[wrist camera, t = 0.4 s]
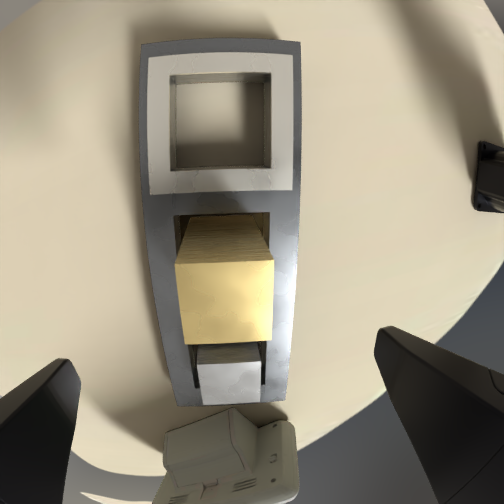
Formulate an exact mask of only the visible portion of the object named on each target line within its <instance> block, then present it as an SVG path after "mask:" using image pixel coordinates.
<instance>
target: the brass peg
mask: <svg viewBox="0 0 504 504" xmlns="http://www.w3.org/2000/svg"><path fill="white" fill-rule="evenodd" d="M175 273H176V282H177V291H178V299H179V306H180V314H181V321H182V328H183V335H184V341H185V344H216V343H236V342H252V341H266V340H271V337H272V313H273V285H274V259H273V257H272V255H271V253H270V251H269V248H268V246H267V244H266V242H265V240H264V238H263V236H262V234H261V232H260V230H259V228H258V226H257V224H256V222H255V220H254V218H253V216H252V215H233V216H205V217H191V218H190V221H189V223H188V226H187V229H186V232H185V235H184V238H183V241H182V244H181V246H180V249H179V252H178V255H177V258H176V261H175Z"/></svg>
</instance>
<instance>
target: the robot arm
mask: <svg viewBox="0 0 504 504" xmlns="http://www.w3.org/2000/svg"><path fill="white" fill-rule="evenodd" d="M474 209H475V210H477V211H484V212H496V213H504V148H502V147H499V146H496V145H494V144H491V143H488V142H485V141H480V142H479V147H478V167H477V179H476V189H475V198H474ZM374 357H375V360H376V363H377V365H378V368H379V370H380V373H381V376H382V378H383V381H384V384H385V386H386V389H387V392H388V394H389V397H390V399H391V402H392V404H393V406H394V408H395V410H396V412H397V414H398V416H399V418H400V420H401V422H402V424H403V426H404V428H405V430H406V432H407V434H408V436H409V439H410V440H411V443H412V445H413V447H414V449H415V451H416V454H417V456H418V457H419V460H420V462H421V464H422V466H423V469H424V471H425V473H426V475H427V478H428V480H429V482H430V485H431V487H432V489H433V492H434V494H435V497H436V499H437V501H438V504H504V375H503V374H501V373H499V372H496V371H494V370H491V369H488V368H487V367H485V366H482V365H480V364H478V363H475V362H473V361H471V360H469V359H466V358H464V357H462V356H460V355H457V354H455V353H453V352H450V351H448V350H446V349H443V348H441V347H439V346H437V345H434V344H432V343H430V342H428V341H425V340H423V339H421V338H419V337H416V336H414V335H412V334H410V333H407V332H405V331H403V330H401V329H398V328H396V327H394V326H387V327H383V328H380V329H379V330H378V333H377V338H376V343H375V348H374ZM80 390H81V381H80V378H79V376H78V374H77V372H76V370H75V368H74V366H73V364H72V362H71V361H70V360H69V359H63V358H58V359H56V360H54V361H53V362H51V363H50V364H48V365H47V366H46V367H44V368H43V369H41V370H40V371H38V372H37V373H36V374H34V375H33V376H31V377H30V378H29V379H27V380H26V381H24V382H23V383H21V384H20V385H19V386H17V387H16V388H14V389H13V390H12V391H10V392H9V393H7V394H6V395H5V396H3V397H2V398H1V399H0V504H62V501H63V493H64V486H65V479H66V473H67V466H68V461H69V455H70V450H71V445H72V441H73V436H74V431H75V425H76V418H77V410H78V403H79V396H80Z"/></svg>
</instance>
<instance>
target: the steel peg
mask: <svg viewBox="0 0 504 504" xmlns="http://www.w3.org/2000/svg"><path fill="white" fill-rule="evenodd" d="M197 370H198V376H199V382H200V388H201V394H202V400H203V405H217V404H236V403H250V402H260V386H261V358H260V354H259V349H258V345H257V341H252V342H236V343H216V344H198V350H197Z"/></svg>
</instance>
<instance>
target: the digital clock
mask: <svg viewBox="0 0 504 504" xmlns="http://www.w3.org/2000/svg"><path fill="white" fill-rule="evenodd" d="M163 465H164V467H165V469H166V470H167V473H166V475H165V477H164V479H163V481H162V484H161V485H160V488H159V489H158V492H157V494H156V496H155V498H154V500H153V502H152V504H283V503H286V502H289V501H291V500H293V499H294V498H295V497H296V495H297V494H298V491H299V471H298V459H297V447H296V436H295V428H294V426H293V425H292V424H291V423H290V422H288V421H283V420H279V421H275V422H273V423H270V424H268V425H265V426H263V427H261V428H258V427H256V426H255V425H254V424H253V423H251V422H250V421H249V420H248V419H247V418H246V417H244V416H243V415H242V414H241V413H240V412H238V411H237V410H236V409H235V408H230V409H228V410H225V411H223V412H220V413H218V414H216V415H213V416H210V417H208V418H205V419H203V420H200V421H197V422H195V423H192V424H189V425H187V426H184V427H181V428H178V429H175V430H172V431H169V432H166V433H165V440H164V450H163Z"/></svg>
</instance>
